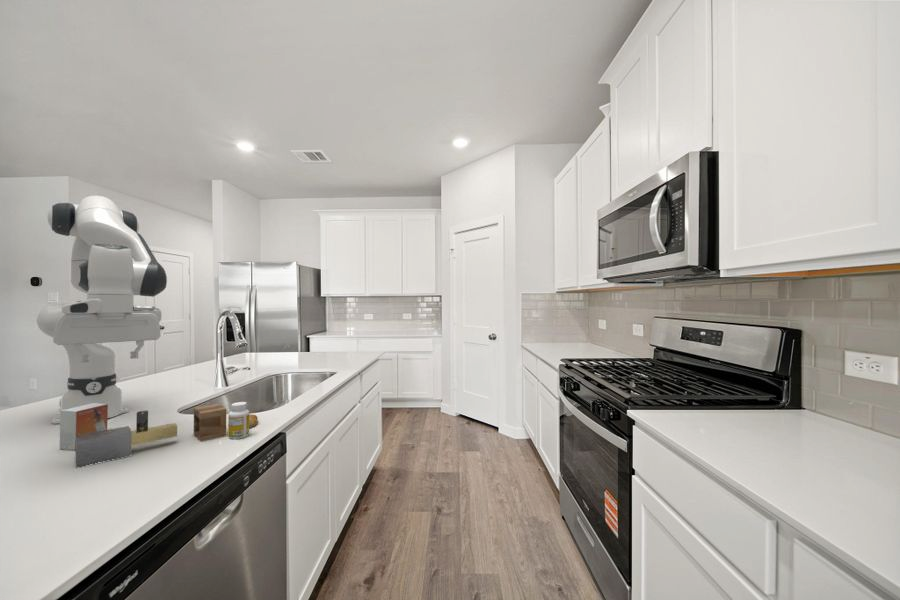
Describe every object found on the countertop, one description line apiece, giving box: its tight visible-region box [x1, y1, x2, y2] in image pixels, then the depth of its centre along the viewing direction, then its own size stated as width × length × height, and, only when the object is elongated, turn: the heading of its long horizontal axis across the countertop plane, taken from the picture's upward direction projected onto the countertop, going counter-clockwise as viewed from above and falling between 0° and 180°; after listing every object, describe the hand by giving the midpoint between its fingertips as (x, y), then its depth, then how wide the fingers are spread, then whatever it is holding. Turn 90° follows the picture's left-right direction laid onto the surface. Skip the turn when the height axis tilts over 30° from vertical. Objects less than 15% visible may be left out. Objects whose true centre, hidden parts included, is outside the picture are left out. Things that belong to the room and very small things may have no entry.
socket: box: [193, 403, 227, 442], centre depth 111 cm, size 8×6×8 cm
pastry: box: [249, 413, 258, 429], centre depth 121 cm, size 9×7×4 cm
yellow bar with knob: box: [131, 410, 178, 447], centre depth 98 cm, size 3×20×8 cm, turn 136°
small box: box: [58, 403, 109, 451], centre depth 103 cm, size 8×6×10 cm
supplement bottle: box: [227, 401, 250, 440], centre depth 110 cm, size 5×5×10 cm
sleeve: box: [74, 425, 133, 469], centre depth 94 cm, size 6×10×6 cm, turn 137°
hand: (110, 360), depth 95 cm, fingers open, 8 cm apart
